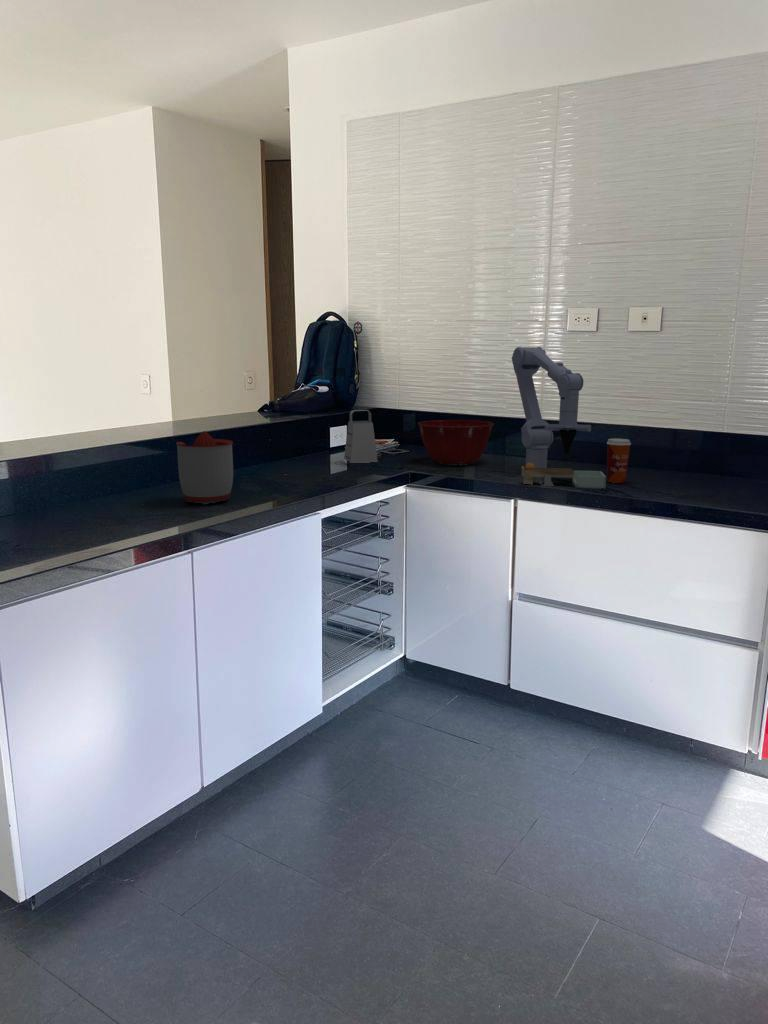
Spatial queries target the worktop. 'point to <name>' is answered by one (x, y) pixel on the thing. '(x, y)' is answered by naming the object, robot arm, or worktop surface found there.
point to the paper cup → (617, 459)
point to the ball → (529, 466)
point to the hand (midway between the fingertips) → (566, 453)
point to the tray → (589, 479)
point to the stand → (546, 480)
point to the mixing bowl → (455, 440)
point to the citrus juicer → (205, 468)
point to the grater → (360, 441)
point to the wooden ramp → (541, 472)
